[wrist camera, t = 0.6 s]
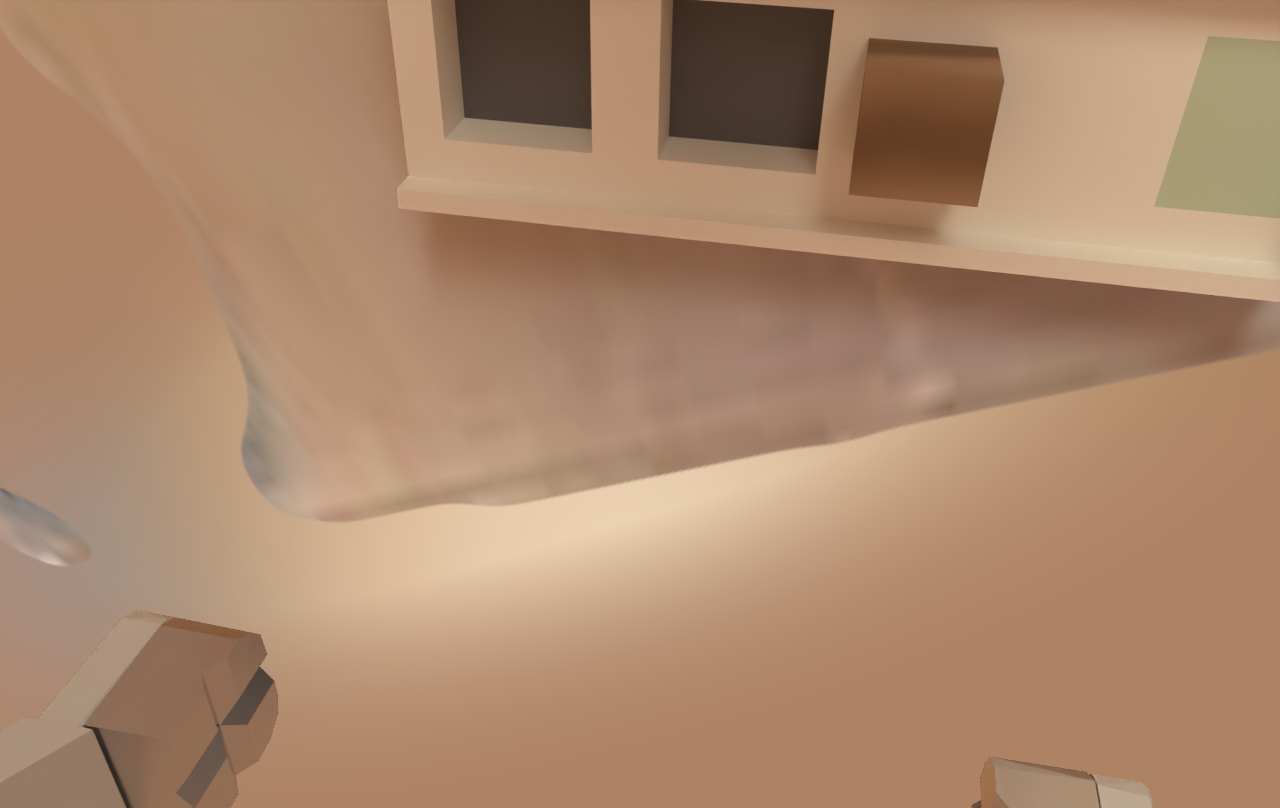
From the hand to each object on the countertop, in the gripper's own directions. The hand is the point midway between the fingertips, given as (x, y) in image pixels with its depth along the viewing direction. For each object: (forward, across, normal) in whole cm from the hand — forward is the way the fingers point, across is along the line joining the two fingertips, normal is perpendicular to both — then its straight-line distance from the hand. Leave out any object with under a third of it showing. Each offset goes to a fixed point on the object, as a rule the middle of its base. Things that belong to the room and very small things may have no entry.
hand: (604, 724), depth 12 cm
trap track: (+40, -2, +5) cm, 41 cm away
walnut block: (+37, -5, +5) cm, 38 cm away
